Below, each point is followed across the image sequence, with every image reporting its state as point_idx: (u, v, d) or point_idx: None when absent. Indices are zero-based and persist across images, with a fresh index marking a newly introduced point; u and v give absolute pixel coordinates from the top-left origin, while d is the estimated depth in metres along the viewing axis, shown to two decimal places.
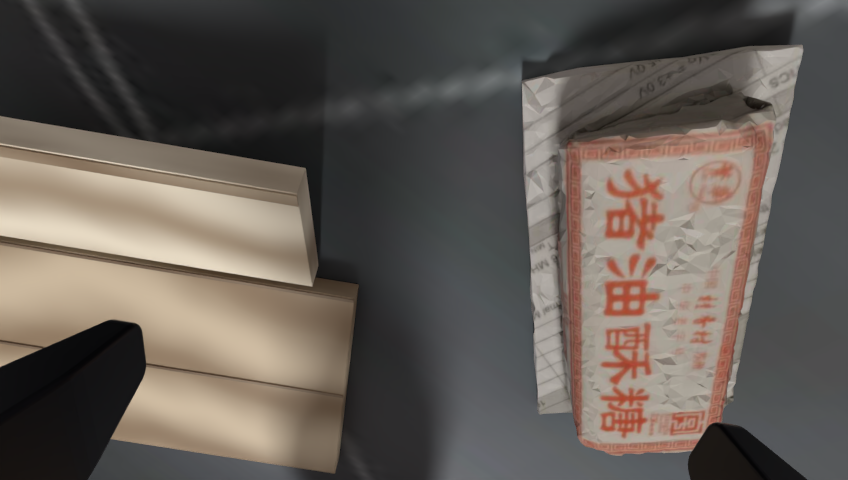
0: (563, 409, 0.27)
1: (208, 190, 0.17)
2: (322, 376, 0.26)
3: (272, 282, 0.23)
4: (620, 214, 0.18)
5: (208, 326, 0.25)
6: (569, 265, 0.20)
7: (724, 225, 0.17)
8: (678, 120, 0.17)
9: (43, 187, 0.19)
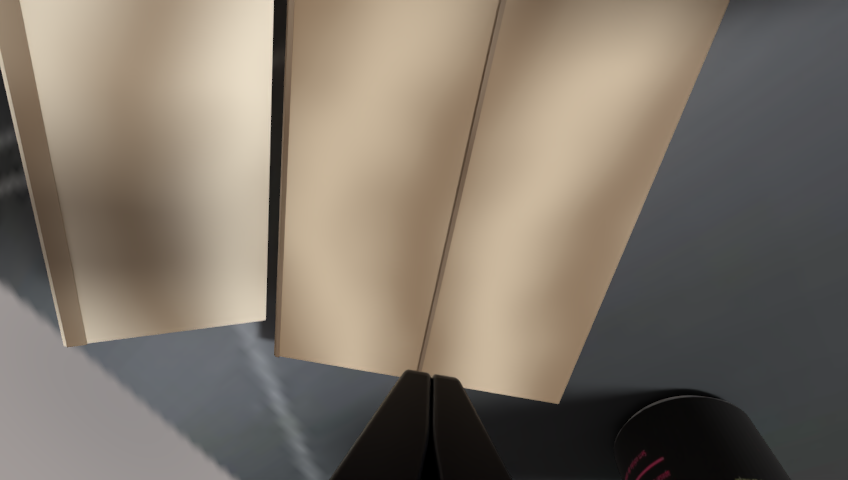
0: None
1: None
2: None
3: None
4: None
5: (382, 72, 0.16)
6: None
7: None
8: None
9: (118, 195, 0.16)
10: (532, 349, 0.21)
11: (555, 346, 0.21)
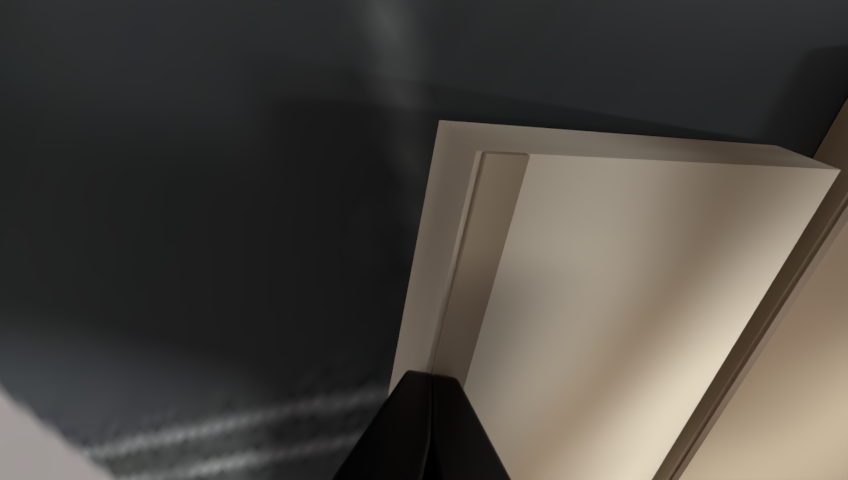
0: None
1: (467, 358, 0.07)
2: None
3: (793, 263, 0.10)
4: None
5: None
6: None
7: None
8: None
9: None
10: None
11: None
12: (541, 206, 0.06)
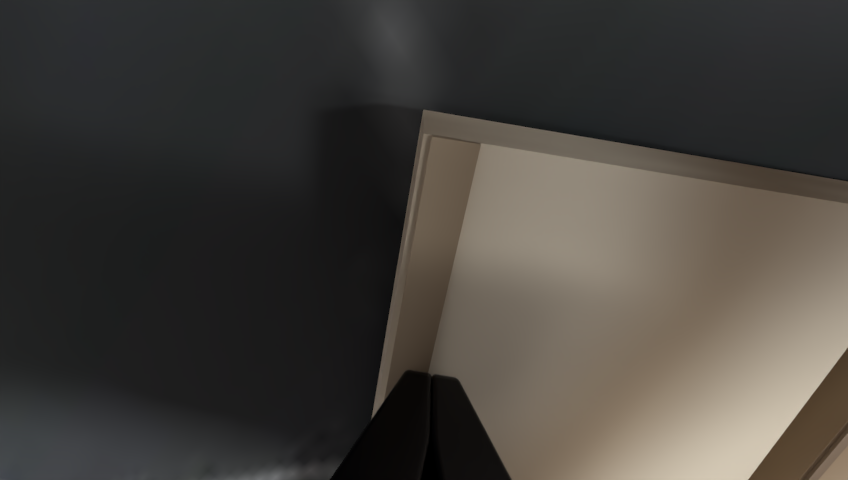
0: None
1: (427, 348, 0.07)
2: None
3: None
4: None
5: None
6: None
7: None
8: None
9: None
10: None
11: None
12: (501, 201, 0.06)
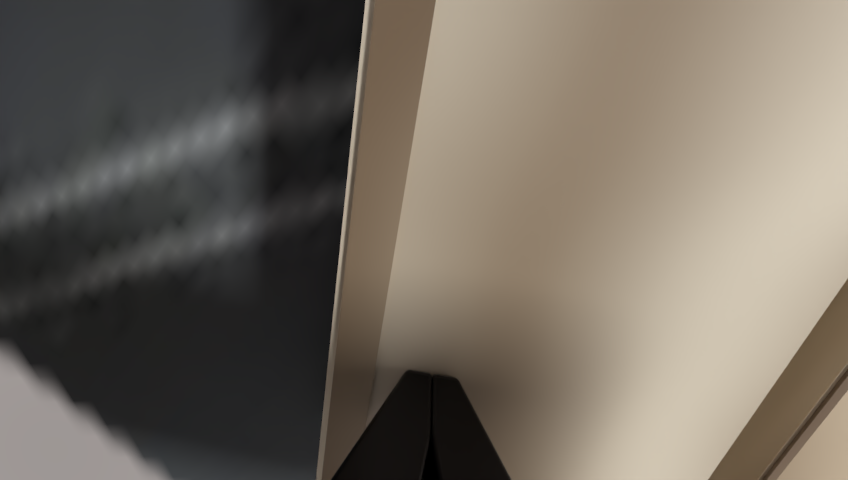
0: None
1: None
2: None
3: None
4: None
5: None
6: None
7: None
8: None
9: (520, 241, 0.06)
10: None
11: None
12: None
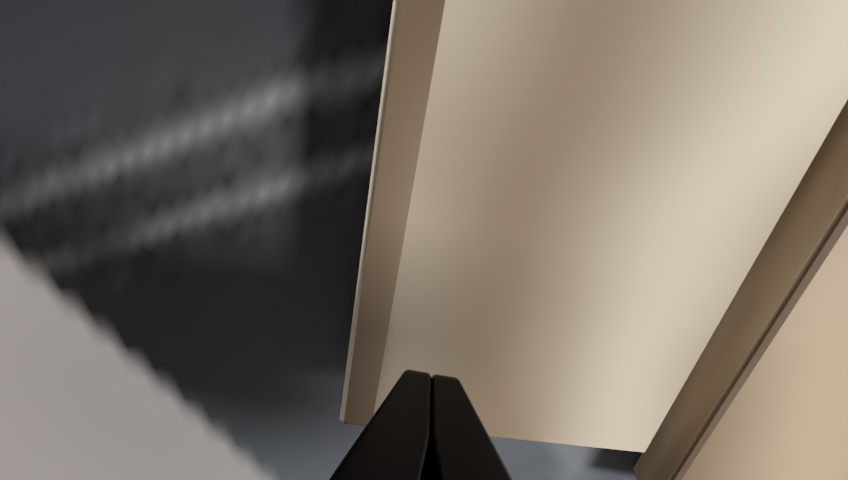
0: None
1: None
2: None
3: None
4: None
5: None
6: None
7: None
8: None
9: (512, 184, 0.08)
10: None
11: None
12: None
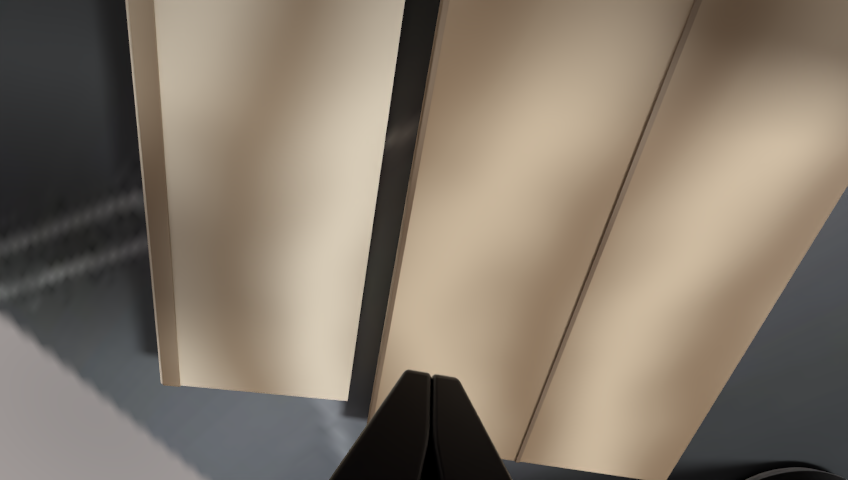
0: None
1: (150, 22, 0.13)
2: None
3: None
4: None
5: (521, 157, 0.15)
6: None
7: None
8: None
9: (222, 256, 0.16)
10: (644, 430, 0.20)
11: (669, 427, 0.19)
12: None
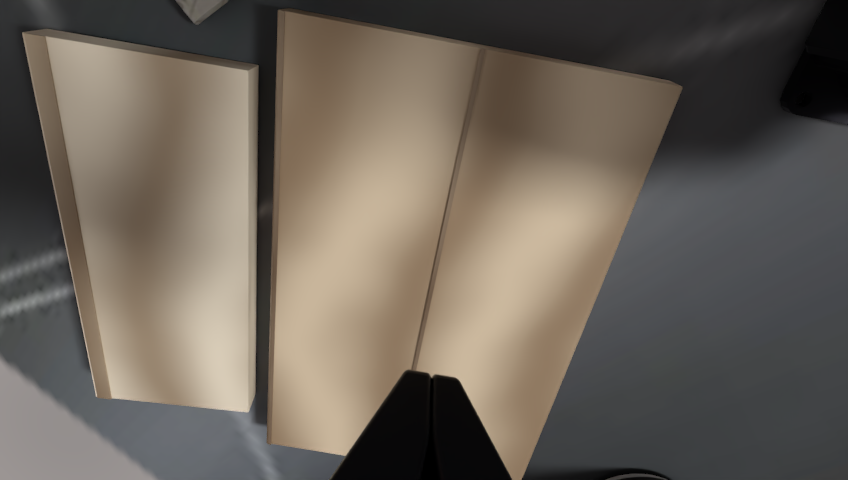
0: None
1: (59, 136, 0.17)
2: (438, 81, 0.16)
3: None
4: None
5: (355, 229, 0.19)
6: None
7: None
8: None
9: (133, 300, 0.20)
10: (494, 440, 0.24)
11: (514, 438, 0.23)
12: (64, 62, 0.16)
